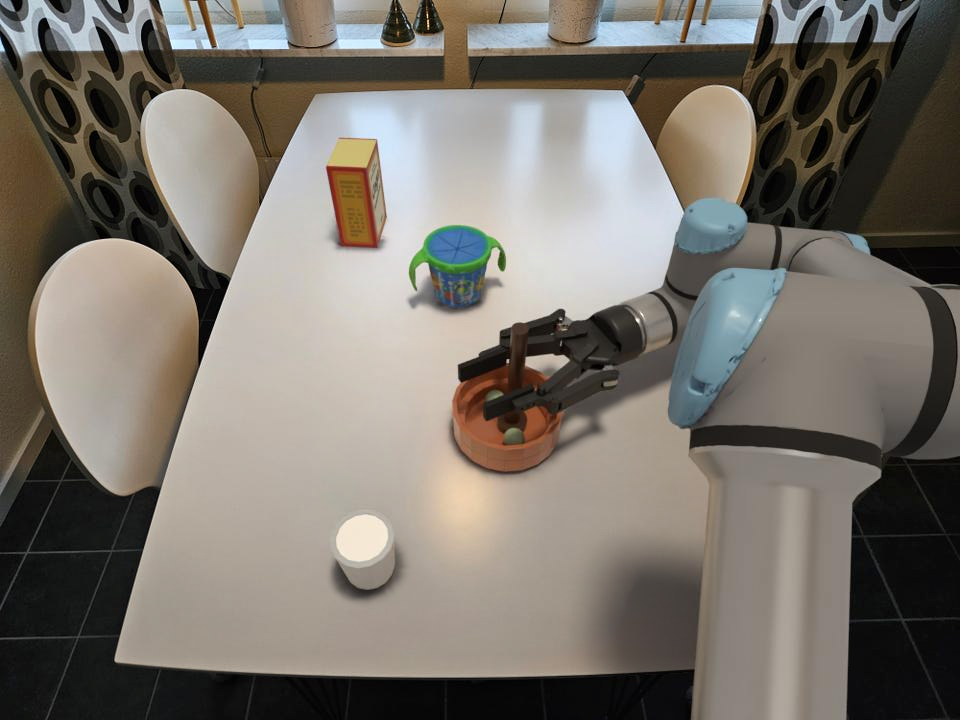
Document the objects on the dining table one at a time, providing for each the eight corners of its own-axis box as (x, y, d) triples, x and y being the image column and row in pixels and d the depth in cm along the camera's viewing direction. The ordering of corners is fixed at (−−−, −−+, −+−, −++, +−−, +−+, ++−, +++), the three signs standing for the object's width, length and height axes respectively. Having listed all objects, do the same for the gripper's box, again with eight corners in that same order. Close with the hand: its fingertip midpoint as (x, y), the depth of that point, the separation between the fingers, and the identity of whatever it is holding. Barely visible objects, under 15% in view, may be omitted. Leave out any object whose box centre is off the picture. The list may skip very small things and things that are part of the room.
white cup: (375, 527, 77) (367, 497, 72) (412, 566, 74) (407, 537, 69) (328, 565, 74) (316, 536, 69) (365, 608, 71) (355, 580, 66)
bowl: (528, 491, 81) (530, 467, 77) (433, 444, 86) (431, 419, 82) (576, 414, 89) (580, 388, 85) (487, 375, 94) (487, 349, 90)
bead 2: (511, 457, 83) (499, 442, 82) (510, 445, 86) (498, 430, 85) (529, 447, 83) (517, 431, 82) (528, 435, 85) (516, 420, 84)
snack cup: (496, 267, 111) (498, 217, 103) (513, 308, 104) (515, 257, 96) (406, 281, 108) (401, 231, 101) (417, 323, 101) (412, 273, 94)
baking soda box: (352, 215, 121) (338, 135, 109) (386, 216, 121) (376, 137, 109) (341, 246, 115) (325, 165, 103) (377, 247, 114) (365, 166, 103)
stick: (513, 440, 85) (522, 345, 72) (490, 424, 87) (495, 328, 74) (532, 423, 87) (544, 327, 74) (510, 407, 89) (518, 311, 76)
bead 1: (500, 417, 88) (496, 408, 86) (483, 408, 90) (479, 399, 87) (510, 400, 89) (507, 391, 87) (493, 392, 90) (490, 383, 88)
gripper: (667, 398, 82) (509, 469, 75) (584, 307, 94) (439, 361, 87) (680, 358, 77) (511, 430, 70) (590, 267, 88) (436, 321, 81)
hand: (472, 392), depth 78 cm, fingers open, 6 cm apart
